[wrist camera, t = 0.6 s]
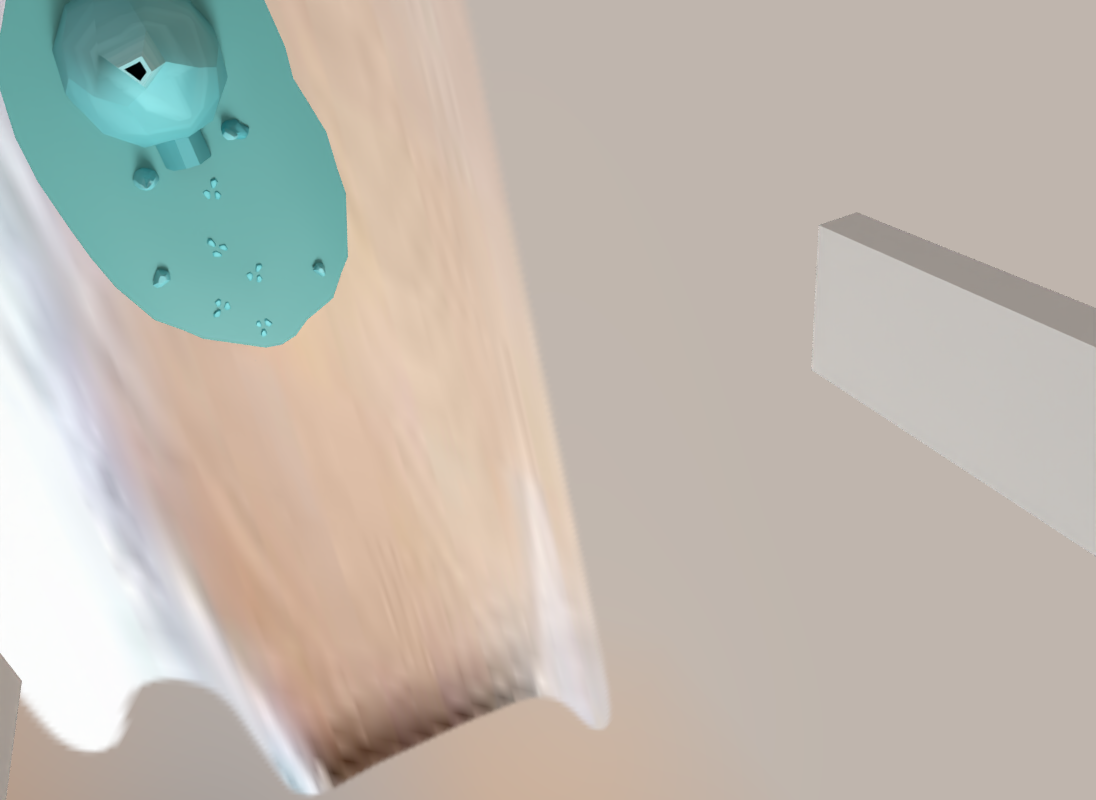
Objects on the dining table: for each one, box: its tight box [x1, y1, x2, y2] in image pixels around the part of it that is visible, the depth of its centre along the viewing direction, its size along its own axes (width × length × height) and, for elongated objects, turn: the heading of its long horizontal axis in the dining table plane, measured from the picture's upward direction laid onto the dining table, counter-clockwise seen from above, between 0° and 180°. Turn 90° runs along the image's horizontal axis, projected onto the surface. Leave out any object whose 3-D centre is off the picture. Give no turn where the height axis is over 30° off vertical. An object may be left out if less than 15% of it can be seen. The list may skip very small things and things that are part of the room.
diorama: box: [0, 0, 348, 347], centre depth 30 cm, size 12×20×9 cm, turn 15°
